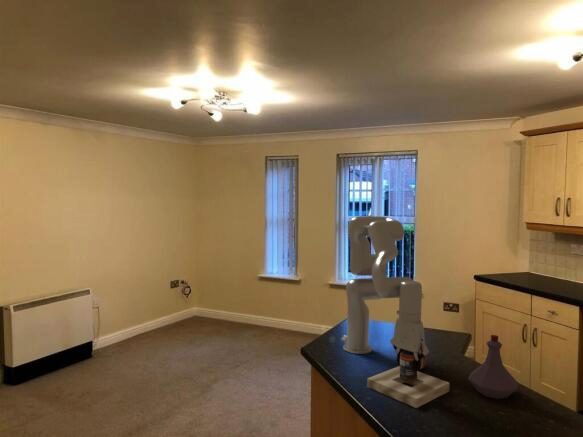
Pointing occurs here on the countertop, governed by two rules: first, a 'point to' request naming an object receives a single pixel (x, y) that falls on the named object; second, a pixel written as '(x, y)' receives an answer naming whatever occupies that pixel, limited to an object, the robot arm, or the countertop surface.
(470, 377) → the flask
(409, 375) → the supplement bottle
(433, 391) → the socket board
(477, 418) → the countertop surface
